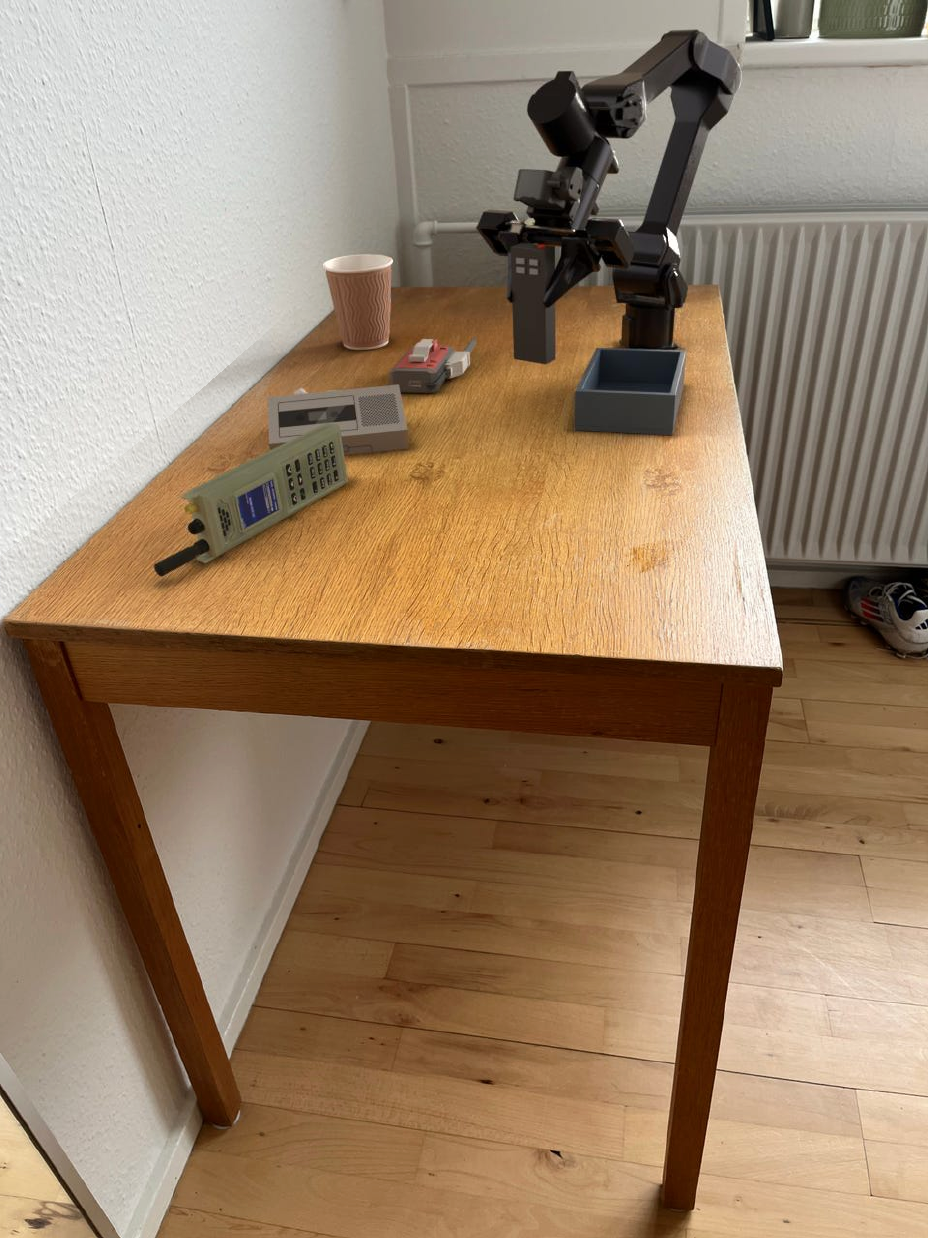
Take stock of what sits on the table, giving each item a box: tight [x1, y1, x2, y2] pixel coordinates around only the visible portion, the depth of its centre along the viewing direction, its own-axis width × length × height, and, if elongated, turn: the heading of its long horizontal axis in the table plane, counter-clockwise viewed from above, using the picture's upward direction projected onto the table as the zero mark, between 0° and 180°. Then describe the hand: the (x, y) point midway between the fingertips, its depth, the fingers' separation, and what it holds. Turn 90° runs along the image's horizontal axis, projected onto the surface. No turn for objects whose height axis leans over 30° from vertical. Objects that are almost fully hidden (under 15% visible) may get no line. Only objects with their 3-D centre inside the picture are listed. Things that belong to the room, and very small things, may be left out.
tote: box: [573, 347, 687, 436], centre depth 116 cm, size 16×11×5 cm
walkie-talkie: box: [388, 338, 478, 395], centre depth 132 cm, size 9×4×20 cm
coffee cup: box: [322, 253, 394, 351], centre depth 143 cm, size 10×10×12 cm
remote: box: [511, 243, 557, 365], centre depth 111 cm, size 2×5×13 cm, turn 54°
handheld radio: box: [153, 423, 349, 577], centre depth 93 cm, size 7×3×25 cm
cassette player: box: [267, 384, 410, 456], centre depth 112 cm, size 16×3×10 cm
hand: (527, 303), depth 110 cm, fingers closed on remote, 4 cm apart
